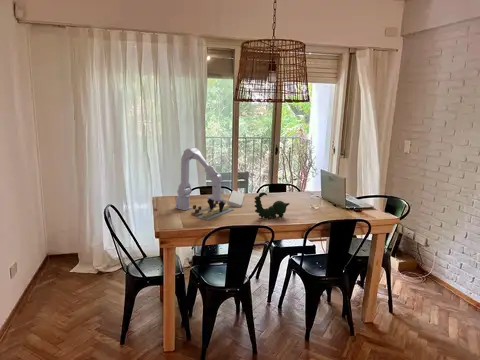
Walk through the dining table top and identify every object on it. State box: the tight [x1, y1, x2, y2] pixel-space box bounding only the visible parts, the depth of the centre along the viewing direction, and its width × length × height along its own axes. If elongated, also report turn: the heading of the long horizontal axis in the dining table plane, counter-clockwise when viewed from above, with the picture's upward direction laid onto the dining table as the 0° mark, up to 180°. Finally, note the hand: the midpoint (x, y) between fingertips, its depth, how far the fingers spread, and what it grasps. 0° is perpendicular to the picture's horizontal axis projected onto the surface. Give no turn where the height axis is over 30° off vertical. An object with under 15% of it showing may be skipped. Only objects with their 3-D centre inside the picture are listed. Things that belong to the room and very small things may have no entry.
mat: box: [196, 207, 235, 221], centre depth 243 cm, size 9×30×1 cm, turn 147°
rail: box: [203, 203, 230, 218], centre depth 243 cm, size 3×26×3 cm, turn 148°
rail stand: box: [191, 201, 219, 217], centre depth 247 cm, size 6×24×6 cm, turn 147°
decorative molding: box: [226, 189, 245, 208], centre depth 277 cm, size 34×5×10 cm
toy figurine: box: [254, 191, 290, 220], centre depth 238 cm, size 9×19×25 cm
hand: (216, 211), depth 243 cm, fingers open, 7 cm apart
